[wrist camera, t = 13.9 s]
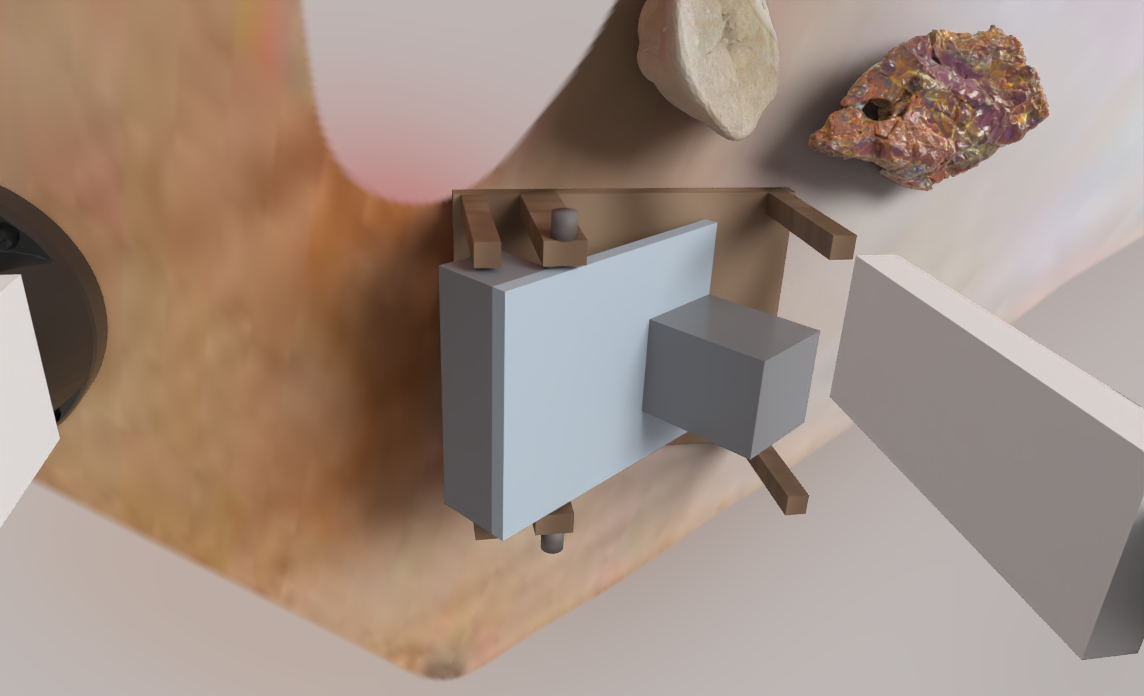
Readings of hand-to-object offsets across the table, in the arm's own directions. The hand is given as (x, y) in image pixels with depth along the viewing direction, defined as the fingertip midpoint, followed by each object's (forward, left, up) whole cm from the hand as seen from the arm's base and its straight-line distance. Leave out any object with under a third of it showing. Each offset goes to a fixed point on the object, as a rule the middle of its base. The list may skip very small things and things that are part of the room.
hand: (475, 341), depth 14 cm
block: (+14, -15, -29) cm, 35 cm away
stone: (+15, +2, -33) cm, 36 cm away
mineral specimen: (+27, -2, -33) cm, 42 cm away
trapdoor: (+7, -14, -30) cm, 34 cm away
